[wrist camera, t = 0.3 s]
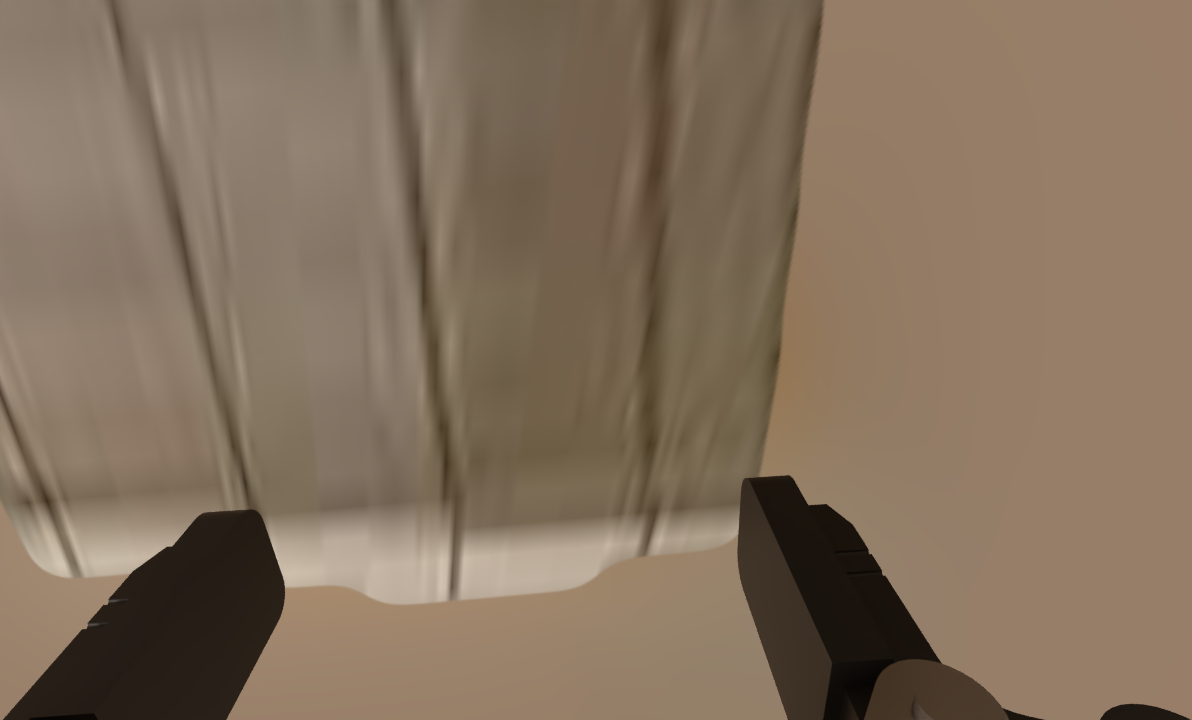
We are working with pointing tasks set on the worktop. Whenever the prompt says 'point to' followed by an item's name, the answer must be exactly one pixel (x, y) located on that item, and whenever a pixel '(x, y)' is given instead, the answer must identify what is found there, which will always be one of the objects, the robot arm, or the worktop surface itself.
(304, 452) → the worktop surface
